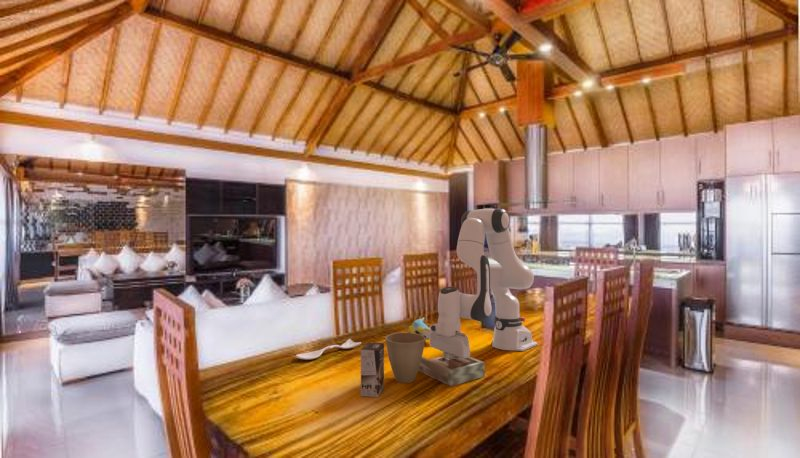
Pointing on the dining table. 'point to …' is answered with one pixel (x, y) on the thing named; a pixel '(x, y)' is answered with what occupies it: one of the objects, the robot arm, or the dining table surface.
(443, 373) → the tray
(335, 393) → the dining table surface
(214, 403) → the dining table surface
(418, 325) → the decorative bird
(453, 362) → the walnut block
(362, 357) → the coffee box
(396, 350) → the plant pot
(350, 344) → the white plastic spork
